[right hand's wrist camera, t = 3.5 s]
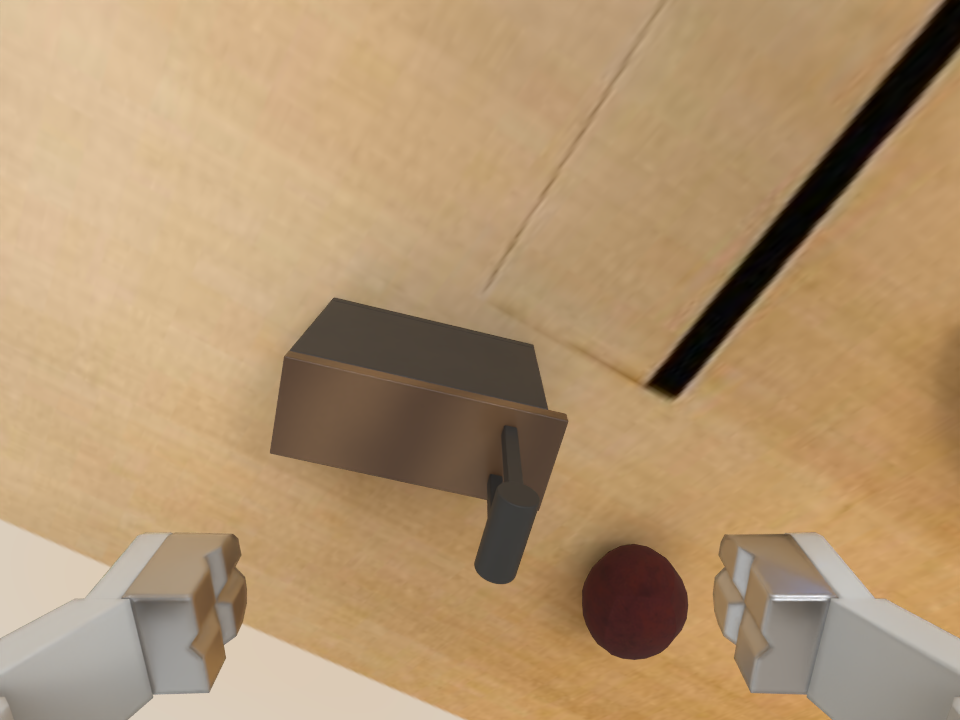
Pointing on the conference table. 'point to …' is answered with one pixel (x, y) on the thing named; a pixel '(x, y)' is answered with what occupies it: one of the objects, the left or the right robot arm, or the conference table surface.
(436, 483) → the lid
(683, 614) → the potato
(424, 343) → the chest
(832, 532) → the conference table surface
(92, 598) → the right robot arm
